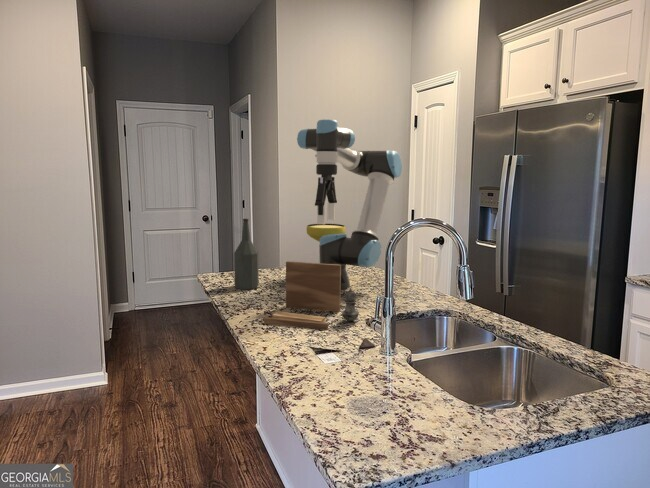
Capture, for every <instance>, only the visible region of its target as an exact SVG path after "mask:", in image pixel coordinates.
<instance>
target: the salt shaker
mask: <svg viewBox="0 0 650 488" xmlns="http://www.w3.org/2000/svg"><path fill="white" fill-rule="evenodd" d="M345 296H346V297H345V301H344V303H345V309H344V310H342V311H340V312H341V314H342V318H343V319H344V321H346V322H347V323H354V321H356V320H357V319H358V317H359V314H360V312H359V311H357V310H356V303H357V301H356V293H355V290H353V289H352V287H349V290H347V291H346V295H345Z"/></svg>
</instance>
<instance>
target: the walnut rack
mask: <svg viewBox="0 0 650 488" xmlns="http://www.w3.org/2000/svg"><path fill="white" fill-rule="evenodd" d="M341 294H342V293H341V265H337V264H321V263H320V262H305V261H304V262H303V261H289V260H287V261H286V262H285V308H292V309H303V310H312V311H313V310H315V311H317V310H318V311H327V312H335V313H336V312H337V313H340V312H341V307H342V306H341V303H342V301H341V300H342V299H341V297H342V296H341ZM263 324H268V325H278V326H285V327H286V326H288V327H299V328H307V329H308V328H309V329H319V330H327V331H328V329H329V322H325V323H323V322H313V321H303V320H292V319H282V318H272V317H269V316H265V317H263Z"/></svg>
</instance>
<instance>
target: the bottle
mask: <svg viewBox="0 0 650 488" xmlns="http://www.w3.org/2000/svg"><path fill="white" fill-rule="evenodd" d="M249 221H250V220H249V218H243V219H242V230H241V231H242V233H241V240H240V242H239V244H238V246H237V247H236V249H235V251H234V253H233V258H234V260H233V263H234V265H233V266H234V270H233V271H234V287H235V289H236V290H240V291H251V290H252V291H253V290H255V289H258V287H259V286H260V285H259V283H260V277H259V275H260V274H259V251H258V250H257V247H256V246H255V245H254V243H253V242H252V240H251V232H250V224H249Z"/></svg>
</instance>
